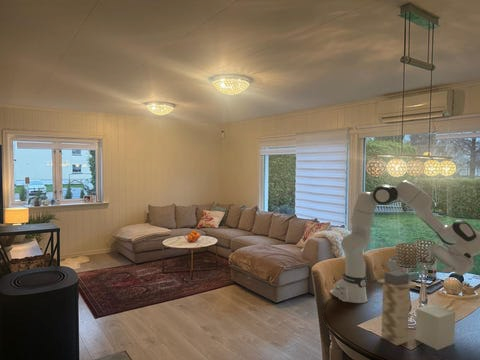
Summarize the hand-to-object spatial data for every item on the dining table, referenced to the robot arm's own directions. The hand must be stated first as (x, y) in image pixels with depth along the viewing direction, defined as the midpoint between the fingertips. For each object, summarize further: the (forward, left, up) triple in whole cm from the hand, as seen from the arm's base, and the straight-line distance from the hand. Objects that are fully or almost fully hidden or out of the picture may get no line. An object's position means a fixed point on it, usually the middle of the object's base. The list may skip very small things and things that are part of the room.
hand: (434, 265), depth 161 cm
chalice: (-51, +42, -30) cm, 72 cm away
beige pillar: (+1, -30, -30) cm, 42 cm away
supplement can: (-49, +74, -30) cm, 94 cm away
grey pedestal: (+10, -15, -30) cm, 35 cm away
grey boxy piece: (+1, -25, -4) cm, 25 cm away
